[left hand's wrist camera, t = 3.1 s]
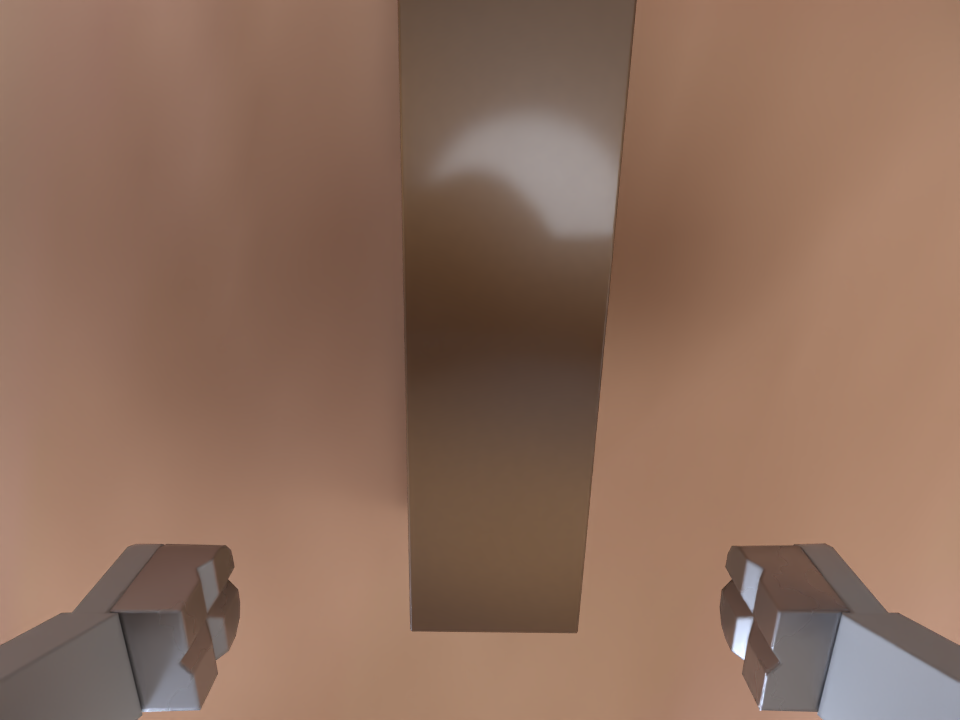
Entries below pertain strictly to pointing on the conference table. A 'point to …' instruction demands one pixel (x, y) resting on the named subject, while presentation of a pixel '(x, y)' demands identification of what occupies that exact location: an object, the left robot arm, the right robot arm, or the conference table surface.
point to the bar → (506, 297)
